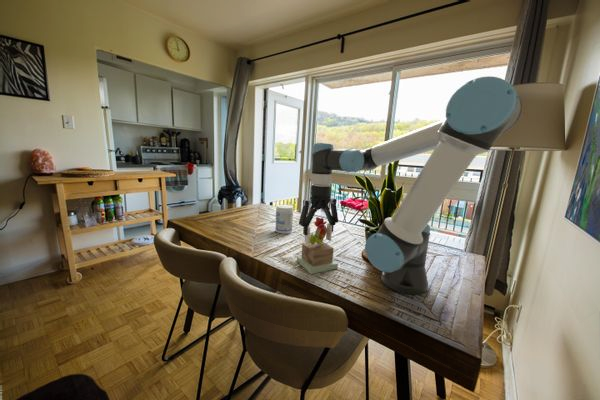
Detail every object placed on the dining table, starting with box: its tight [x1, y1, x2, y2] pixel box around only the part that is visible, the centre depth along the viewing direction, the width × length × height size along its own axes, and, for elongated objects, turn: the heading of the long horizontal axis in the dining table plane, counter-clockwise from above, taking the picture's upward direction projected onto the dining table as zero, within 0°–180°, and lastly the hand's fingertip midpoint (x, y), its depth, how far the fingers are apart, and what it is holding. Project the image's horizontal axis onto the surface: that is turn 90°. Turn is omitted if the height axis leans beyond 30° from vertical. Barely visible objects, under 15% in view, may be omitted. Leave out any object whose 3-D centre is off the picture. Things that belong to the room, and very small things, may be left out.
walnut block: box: [301, 241, 334, 267], centre depth 97 cm, size 9×9×6 cm
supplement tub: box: [275, 204, 294, 235], centre depth 136 cm, size 10×10×15 cm
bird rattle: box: [310, 216, 327, 246], centre depth 96 cm, size 6×11×9 cm
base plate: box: [296, 255, 339, 275], centre depth 98 cm, size 12×12×2 cm
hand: (318, 241), depth 96 cm, fingers closed on bird rattle, 9 cm apart
